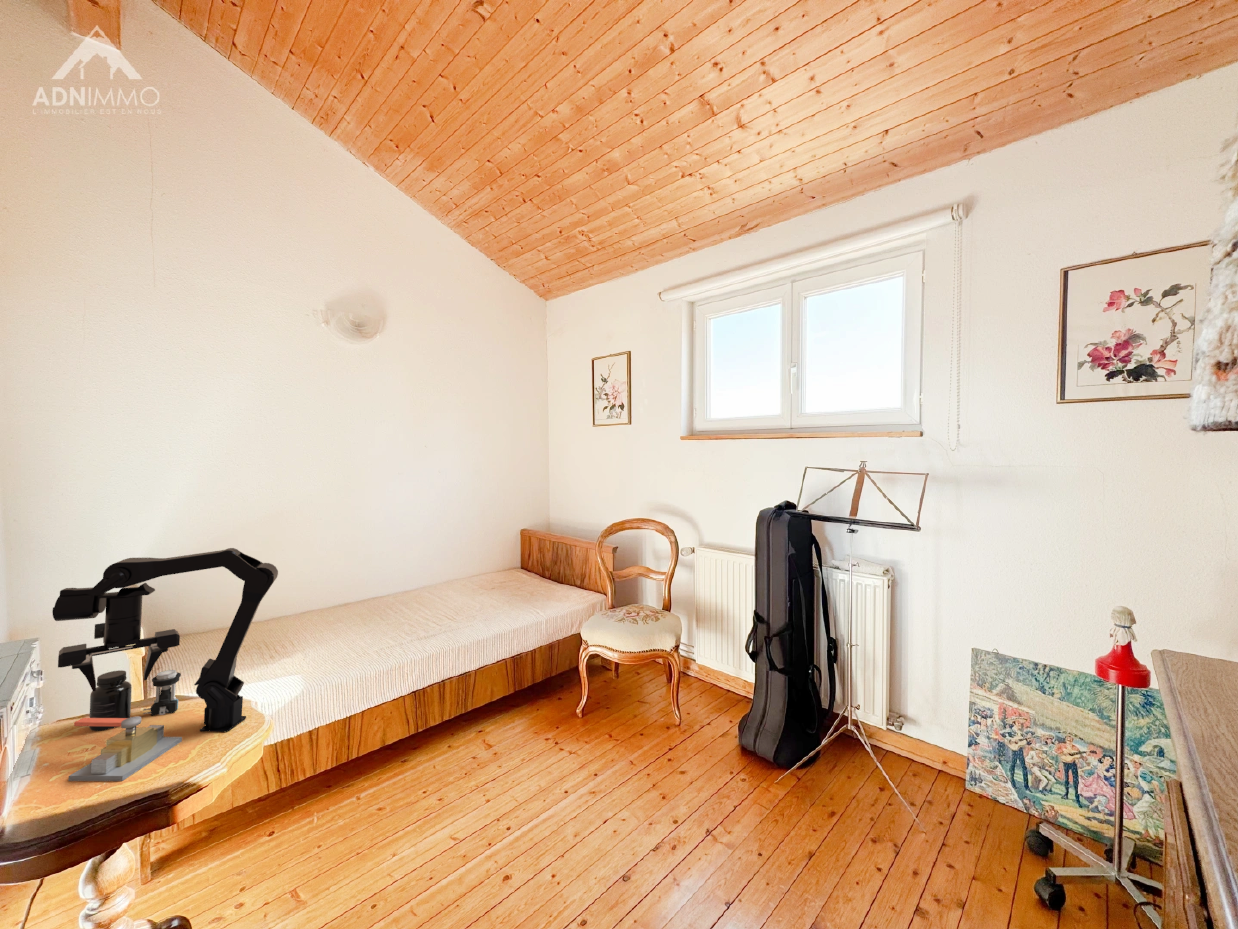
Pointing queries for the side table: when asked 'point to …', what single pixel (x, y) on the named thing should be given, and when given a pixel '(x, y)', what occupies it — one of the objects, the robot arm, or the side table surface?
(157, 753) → the board
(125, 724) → the lever
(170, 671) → the push button
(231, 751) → the side table surface
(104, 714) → the supplement bottle
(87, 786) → the side table surface
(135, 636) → the robot arm
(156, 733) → the valve
